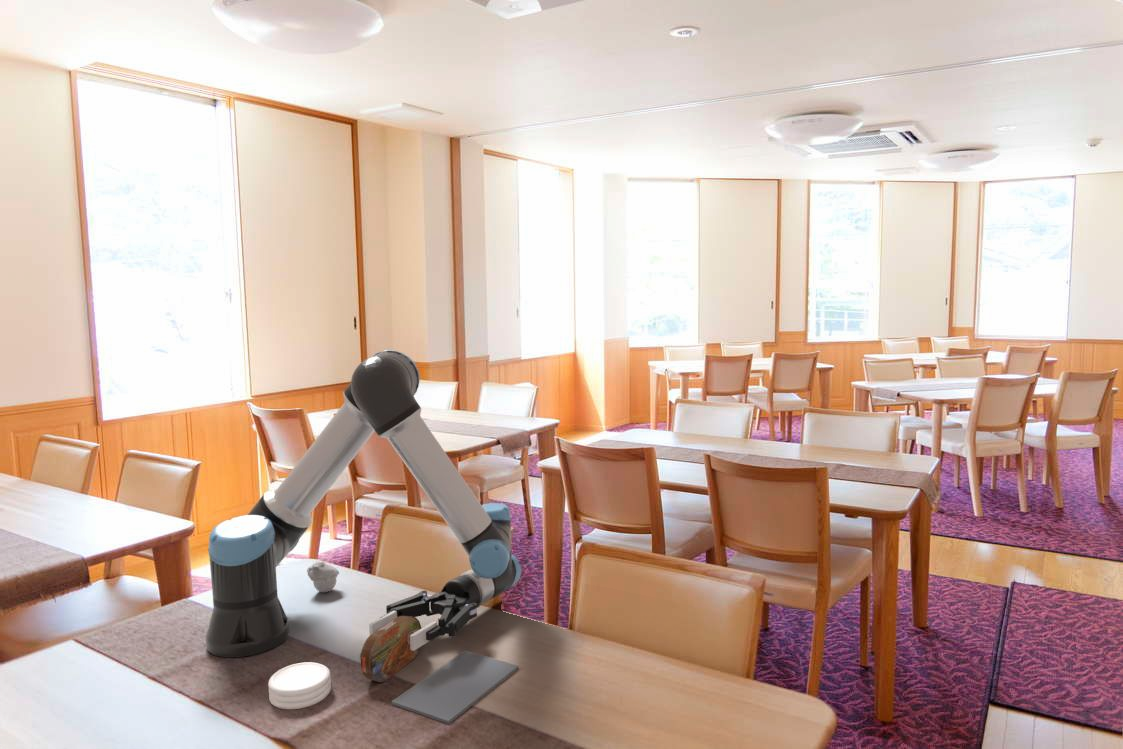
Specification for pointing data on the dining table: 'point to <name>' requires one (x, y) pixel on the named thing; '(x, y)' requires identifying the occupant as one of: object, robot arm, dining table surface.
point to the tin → (389, 649)
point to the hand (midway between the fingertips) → (391, 637)
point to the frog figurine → (323, 576)
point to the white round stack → (299, 685)
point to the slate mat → (455, 686)
